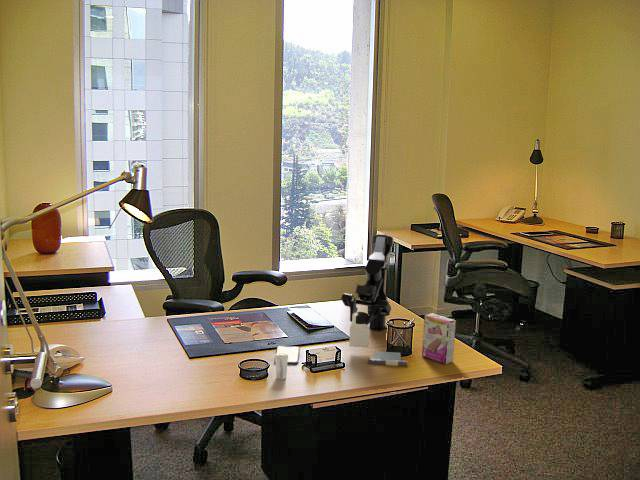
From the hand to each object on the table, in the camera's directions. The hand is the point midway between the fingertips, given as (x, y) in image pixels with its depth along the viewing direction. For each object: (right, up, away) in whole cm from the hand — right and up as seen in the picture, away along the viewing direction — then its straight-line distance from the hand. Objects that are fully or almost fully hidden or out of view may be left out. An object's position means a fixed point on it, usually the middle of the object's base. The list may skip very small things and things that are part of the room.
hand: (358, 322), depth 261 cm
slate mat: (+11, -13, +2) cm, 17 cm away
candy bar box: (+29, -14, +1) cm, 32 cm away
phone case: (-26, -13, 0) cm, 29 cm away
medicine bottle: (0, -8, +3) cm, 9 cm away
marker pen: (+10, -14, -5) cm, 18 cm away
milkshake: (-28, -17, -20) cm, 38 cm away
